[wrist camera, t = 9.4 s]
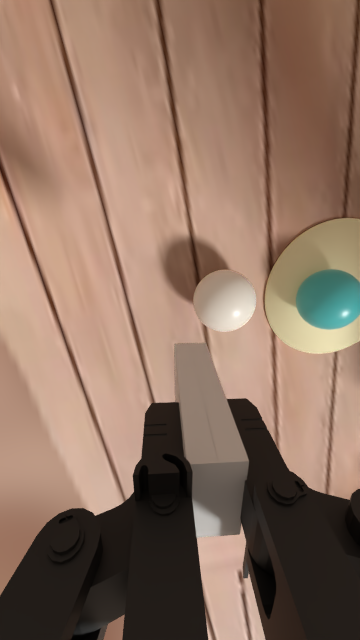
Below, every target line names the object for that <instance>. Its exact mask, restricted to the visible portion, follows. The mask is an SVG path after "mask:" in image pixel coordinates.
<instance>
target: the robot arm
mask: <svg viewBox="0 0 360 640" xmlns="http://www.w3.org/2000/svg"><path fill="white" fill-rule="evenodd" d="M174 369H175V402H170V403H152V404H151V405H150V407H149V408H148V410H147V411H146V413H145V422H144V434H143V435H144V436H143V446H142V458H141V460H140V461H139V462H138V464H137V465H136V467H135V470H134V473H133V482H134V493H133V494H132V495H131V496H130V498H129V499H127V500H126V501H125V502H124V503H123V504H121V505H119V506H117V507H115V508H113V509H111V510H108V511H106V512H104V513H101V514H99V515H96V516H95V515H94V514H93V513H92V512H90V511H88V510H86V509H84V508H77V509H69V510H67V511H64V512H62V513H59V514H58V515H57V516H55V517H54V518H53V519H51V520H50V521H49V522H47V524H46V525H45V526H44V527H43V529H42V530H41V531H40V532H39V534H38V535H37V536H36V538H35V540H34V541H33V543H32V545H31V546H30V548H29V549H28V551H27V553H26V555H25V556H24V558H23V559H22V561H21V563H20V564H19V566H18V568H17V569H16V571H15V572H14V574H13V576H12V577H11V579H10V581H9V582H8V584H7V586H6V587H5V589H4V591H3V592H2V594H1V595H0V640H103V639H104V635H105V632H106V629H107V625H108V623H110V622H112V621H114V620H115V619H117V618H119V617H121V616H122V615H124V614H125V618H124V629H123V640H208V634H207V625H206V616H205V607H204V599H203V590H202V581H201V572H200V563H199V555H198V546H197V537H211V536H224V535H238V534H240V529H241V523H242V527H243V530H244V534H245V538H246V548H245V555H244V562H243V578H248V573H249V574H250V578H251V582H252V586H253V590H254V594H255V598H256V602H257V606H258V610H259V615H260V619H261V623H262V627H263V631H264V635H265V639H266V640H360V489H358V490H356V491H355V492H354V493H353V494H352V495H351V498H350V500H348V499H344V498H340V497H336V496H332V495H327V494H323V493H320V492H317V491H315V490H312V489H311V488H309V487H308V486H307V485H306V484H305V482H304V481H303V480H302V479H301V478H300V477H298V476H297V475H296V474H294V473H293V472H291V471H289V469H288V468H287V466H286V464H285V462H284V460H283V458H282V456H281V454H280V452H279V450H278V448H277V447H276V445H275V443H274V441H273V439H272V437H271V435H270V433H269V431H268V430H267V427H266V425H265V423H264V421H262V417H261V415H260V413H259V411H258V409H257V407H255V406H254V405H253V404H252V403H251V402H250V401H249V400H248V399H246V398H244V399H226V396H225V394H224V391H223V388H222V386H221V383H220V380H219V377H218V375H217V372H216V369H215V366H214V364H213V361H212V358H211V355H210V353H209V350H208V347H207V345H206V343H178V344H174Z"/></svg>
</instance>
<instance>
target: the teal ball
mask: <svg viewBox="0 0 360 640" xmlns="http://www.w3.org/2000/svg"><path fill="white" fill-rule="evenodd" d="M296 307H297V310H298V312H299V314H300V316H301V317H302V318H303V319H304V320H305V321H306V322H307V323H308V324H310V325H312V326H314V327H316V328H320V329H326V330H333V329H339V328H342V327H345V326H347V325H349V324H350V323H352V322H353V321H354V320H355V319H356V318H357V317H358V316H359V315H360V282H359V281H358V280H357V279H356V278H355V277H354V276H353V275H351V274H349V273H347V272H345V271H342V270H336V269H327V270H322V271H318V272H316V273H314V274H312V275H310V276H309V277H308V278H306V279H305V280H304V281H303V282H302V284H301V285H300V287H299V289H298V291H297V294H296Z"/></svg>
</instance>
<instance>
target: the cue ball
mask: <svg viewBox="0 0 360 640" xmlns="http://www.w3.org/2000/svg"><path fill="white" fill-rule="evenodd" d="M193 305H194V309H195V312H196V315H197V316H198V318H199V319H200V321H201V322H202V323H203V324H204V325H206V326H207V327H209V328H211V329H213V330H216V331H221V332H228V331H233V330H236V329H238V328H240V327H242V326H243V325H244V324H246V323H247V322H248V321H249V319H250V318H251V316H252V315H253V313H254V310H255V306H256V294H255V291H254V288H253V286H252V284H251V283H250V281H249V280H248V279H247V278H246V277H245V276H243V275H242V274H240V273H238V272H236V271H233V270H217V271H214V272H212V273H210V274H208V275H207V276H205V277H204V278H203V279H202V280H201V281H200V282H199V284H198V285H197V287H196V289H195V292H194V297H193Z"/></svg>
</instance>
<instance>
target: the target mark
mask: <svg viewBox="0 0 360 640" xmlns="http://www.w3.org/2000/svg"><path fill="white" fill-rule="evenodd" d="M327 269H336V270H342V271H345V272H347V273H349V274H351V275H353V276H354V277H355V278H356V279H357V280H358V281H359V282H360V219H356V218H341V219H334V220H329V221H326V222H323V223H320V224H318V225H316V226H314V227H312V228H310V229H308V230H307V231H305V232H304V233H302V234H301V235H299V236H298V237H297V238H296V239H294V240H293V241H292V242H291V243H290V244H289V245H288V246H287V247H286V248H285V250H284V251H283V252H282V254H281V255H280V256H279V258H278V259H277V261H276V263H275V264H274V266H273V268H272V270H271V272H270V275H269V278H268V281H267V284H266V290H265V301H264V302H265V311H266V316H267V319H268V322H269V324H270V326H271V328H272V330H273V331H274V333H275V334H276V335H277V336H278V337H279V338H280V339H281V340H282V341H283V342H284V343H285V344H287V345H288V346H290V347H292V348H294V349H296V350H299V351H302V352H306V353H314V354H322V353H330V352H335V351H339V350H342V349H345V348H347V347H349V346H351V345H353V344H355V343H357V342H359V341H360V315H359V316H358V317H357V318H356V319H355V320H354V321H353V322H352V323H350V324H349V325H347V326H345V327H342V328H339V329H333V330H326V329H320V328H316V327H314V326H312V325H310V324H308V323H307V322H306V321H305V320H304V319H303V318H302V317H301V316H300V314H299V312H298V310H297V307H296V294H297V291H298V289H299V287H300V285H301V284H302V282H303V281H304V280H305V279H306V278H308V277H309V276H310V275H312V274H314V273H316V272H318V271H322V270H327Z"/></svg>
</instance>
